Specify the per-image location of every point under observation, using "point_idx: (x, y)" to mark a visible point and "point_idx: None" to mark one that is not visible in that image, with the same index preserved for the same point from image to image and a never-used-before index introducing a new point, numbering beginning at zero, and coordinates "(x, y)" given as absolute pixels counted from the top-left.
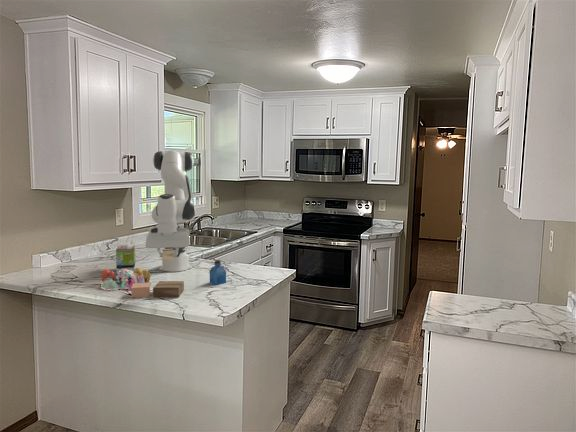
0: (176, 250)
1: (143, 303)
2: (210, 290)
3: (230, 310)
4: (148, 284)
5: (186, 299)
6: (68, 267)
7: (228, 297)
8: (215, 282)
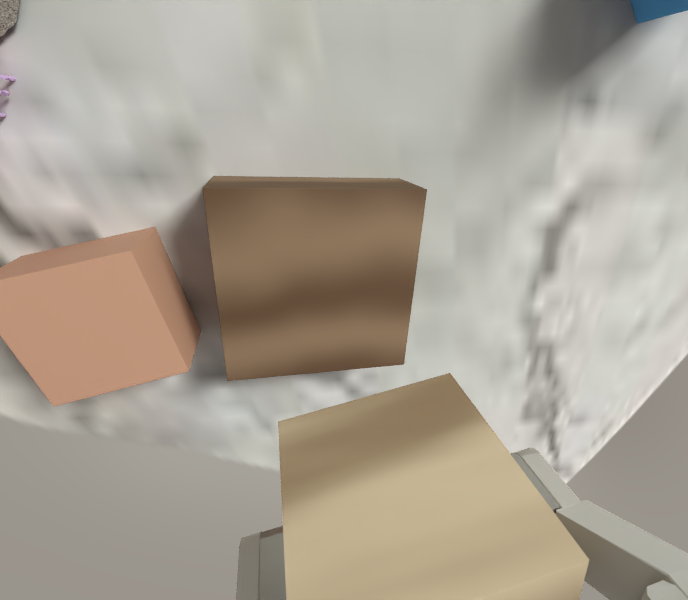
0: (615, 585)
1: (219, 434)
2: (565, 188)
3: (580, 453)
4: (148, 310)
5: (427, 359)
6: None
7: (619, 317)
8: (650, 3)
